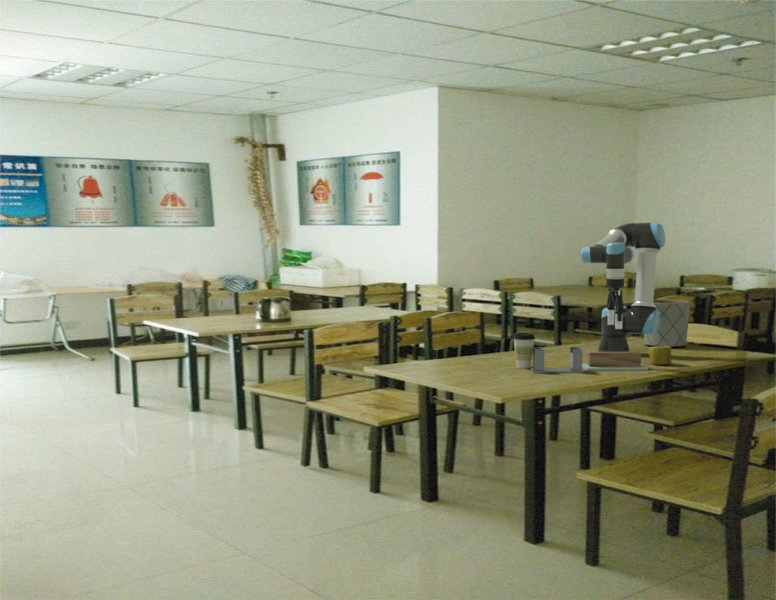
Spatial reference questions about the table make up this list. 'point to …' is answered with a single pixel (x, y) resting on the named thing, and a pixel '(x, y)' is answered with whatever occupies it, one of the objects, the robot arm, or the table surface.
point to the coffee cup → (523, 349)
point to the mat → (614, 368)
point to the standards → (574, 368)
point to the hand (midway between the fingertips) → (614, 326)
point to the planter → (670, 324)
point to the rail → (614, 359)
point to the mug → (660, 355)
